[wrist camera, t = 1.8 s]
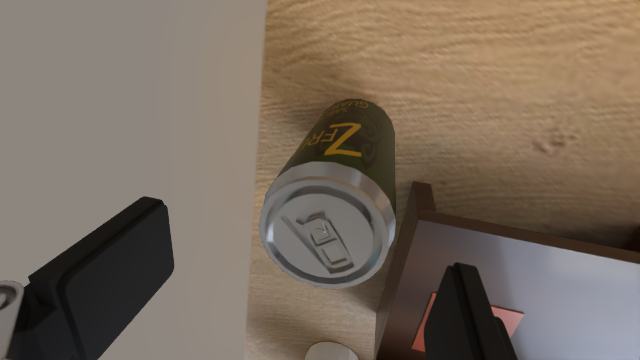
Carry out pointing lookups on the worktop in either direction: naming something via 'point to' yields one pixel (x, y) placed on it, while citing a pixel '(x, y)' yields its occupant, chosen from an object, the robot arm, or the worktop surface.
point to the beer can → (335, 199)
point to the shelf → (513, 287)
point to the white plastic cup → (330, 352)
